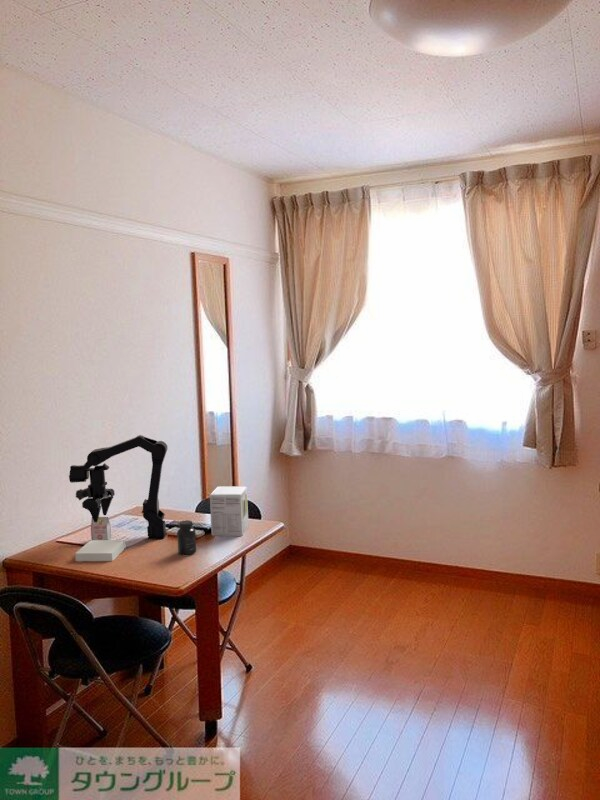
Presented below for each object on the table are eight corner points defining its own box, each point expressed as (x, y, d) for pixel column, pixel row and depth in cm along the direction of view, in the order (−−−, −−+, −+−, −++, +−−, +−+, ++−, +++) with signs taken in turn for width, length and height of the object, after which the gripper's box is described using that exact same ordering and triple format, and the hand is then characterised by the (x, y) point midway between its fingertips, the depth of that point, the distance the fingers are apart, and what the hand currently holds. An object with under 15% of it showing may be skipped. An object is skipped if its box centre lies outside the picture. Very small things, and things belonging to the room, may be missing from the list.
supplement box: (242, 536, 244) (240, 494, 243) (211, 536, 246) (209, 494, 244) (249, 525, 258) (247, 486, 256) (219, 525, 259) (217, 486, 257)
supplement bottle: (174, 552, 228) (173, 522, 227) (190, 548, 233) (189, 518, 231) (183, 557, 223) (182, 526, 222) (199, 552, 227) (198, 522, 226)
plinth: (125, 547, 236) (125, 540, 235) (112, 561, 222) (112, 553, 221) (91, 547, 237) (90, 540, 236) (75, 561, 223) (75, 553, 222)
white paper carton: (95, 539, 246) (93, 515, 245) (111, 539, 246) (109, 515, 245) (91, 542, 243) (90, 518, 242) (108, 542, 242) (106, 518, 241)
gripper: (87, 475, 251) (90, 512, 253) (67, 487, 233) (70, 526, 235) (113, 475, 251) (116, 511, 252) (95, 486, 232) (98, 526, 234)
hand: (100, 518), depth 243 cm, fingers open, 9 cm apart
